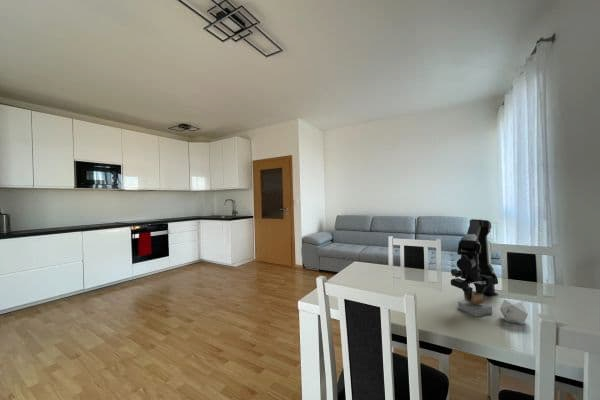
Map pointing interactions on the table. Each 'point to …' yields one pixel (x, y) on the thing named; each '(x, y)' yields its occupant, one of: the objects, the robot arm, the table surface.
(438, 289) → the table surface
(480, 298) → the block
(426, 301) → the table surface
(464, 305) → the base
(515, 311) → the die
